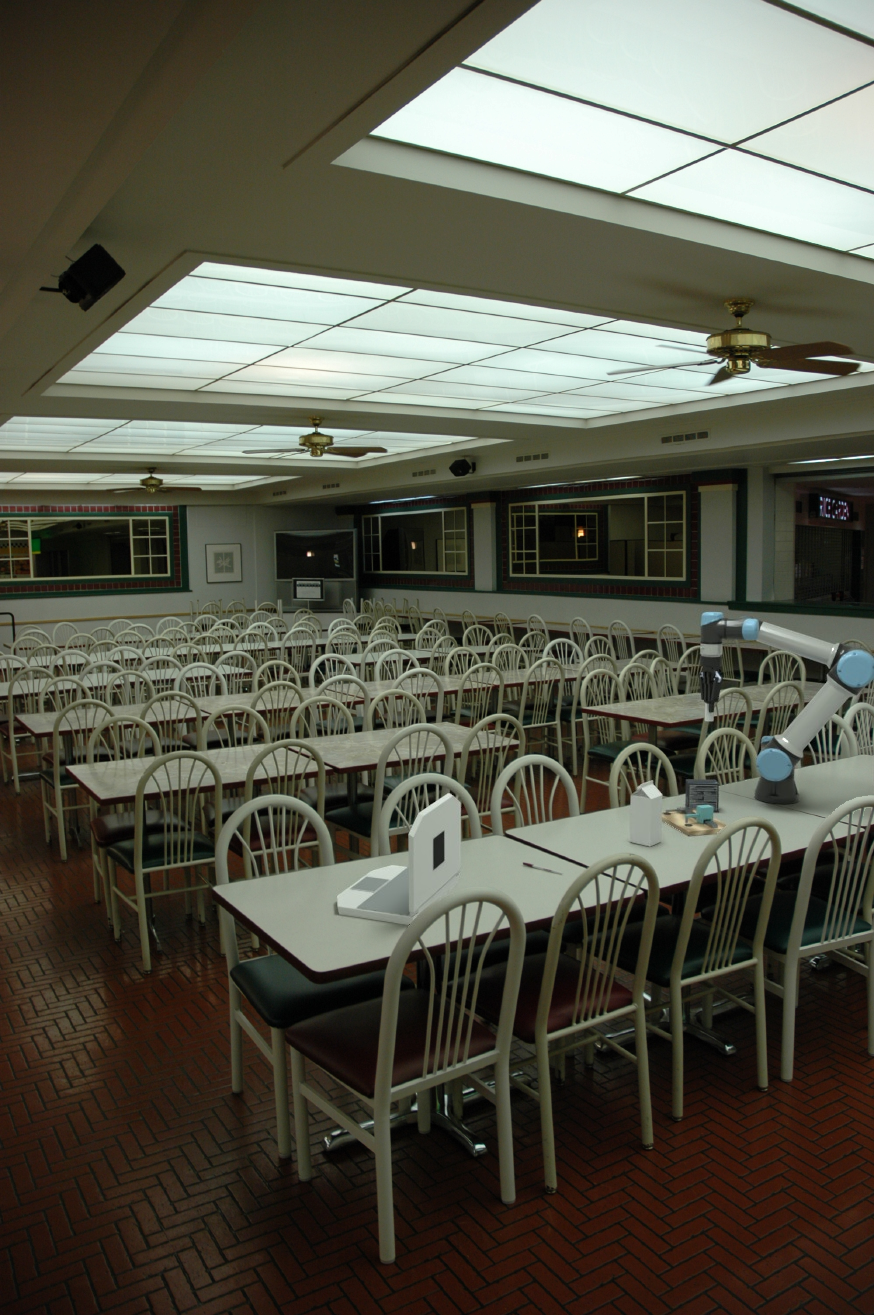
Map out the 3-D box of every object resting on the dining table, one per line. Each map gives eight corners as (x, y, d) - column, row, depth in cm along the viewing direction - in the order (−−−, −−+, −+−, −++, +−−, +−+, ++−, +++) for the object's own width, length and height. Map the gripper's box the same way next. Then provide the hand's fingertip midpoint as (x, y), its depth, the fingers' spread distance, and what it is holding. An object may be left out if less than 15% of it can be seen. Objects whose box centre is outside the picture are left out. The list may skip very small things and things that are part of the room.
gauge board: (697, 813, 319) (697, 809, 319) (733, 832, 298) (733, 827, 297) (655, 817, 315) (655, 812, 315) (688, 836, 294) (688, 831, 293)
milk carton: (661, 842, 288) (663, 782, 286) (649, 847, 283) (651, 786, 281) (641, 837, 293) (642, 778, 291) (629, 842, 287) (630, 782, 285)
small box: (715, 808, 326) (716, 778, 325) (719, 813, 320) (719, 783, 319) (684, 807, 327) (685, 778, 326) (687, 812, 321) (688, 782, 320)
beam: (688, 810, 317) (688, 806, 317) (721, 827, 298) (721, 823, 297) (663, 812, 315) (664, 808, 315) (695, 830, 295) (695, 825, 295)
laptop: (381, 871, 263) (380, 780, 260) (461, 882, 254) (461, 787, 252) (325, 913, 232) (323, 810, 229) (414, 927, 223) (413, 820, 221)
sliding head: (708, 820, 305) (708, 804, 304) (713, 822, 302) (713, 807, 302) (683, 822, 303) (683, 806, 302) (687, 825, 300) (688, 809, 299)
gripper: (692, 654, 335) (690, 718, 337) (711, 657, 322) (709, 724, 325) (710, 653, 337) (708, 717, 339) (730, 657, 324) (728, 723, 327)
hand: (709, 720), depth 332 cm, fingers closed
